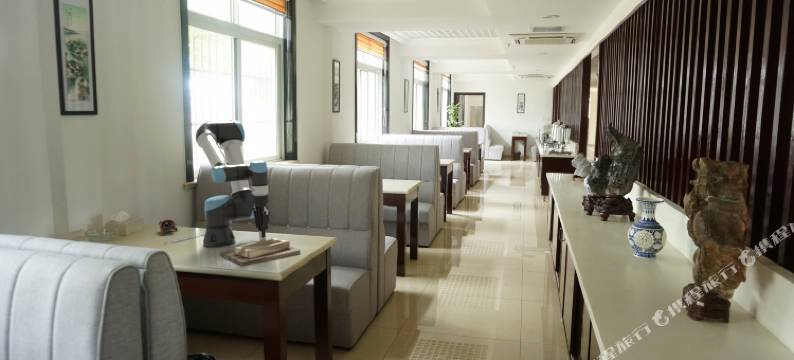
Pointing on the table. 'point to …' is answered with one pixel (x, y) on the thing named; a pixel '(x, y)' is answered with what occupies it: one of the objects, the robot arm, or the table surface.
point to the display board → (270, 256)
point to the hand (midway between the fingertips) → (262, 243)
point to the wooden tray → (261, 247)
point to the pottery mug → (167, 225)
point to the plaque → (187, 239)
